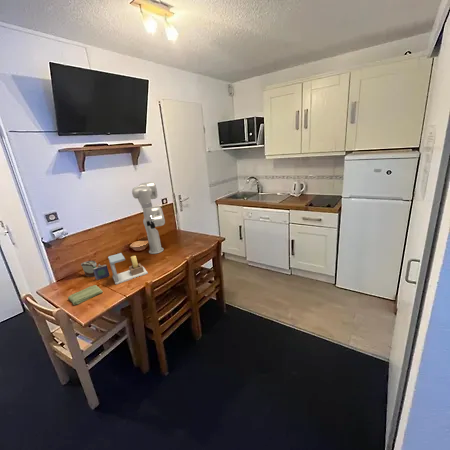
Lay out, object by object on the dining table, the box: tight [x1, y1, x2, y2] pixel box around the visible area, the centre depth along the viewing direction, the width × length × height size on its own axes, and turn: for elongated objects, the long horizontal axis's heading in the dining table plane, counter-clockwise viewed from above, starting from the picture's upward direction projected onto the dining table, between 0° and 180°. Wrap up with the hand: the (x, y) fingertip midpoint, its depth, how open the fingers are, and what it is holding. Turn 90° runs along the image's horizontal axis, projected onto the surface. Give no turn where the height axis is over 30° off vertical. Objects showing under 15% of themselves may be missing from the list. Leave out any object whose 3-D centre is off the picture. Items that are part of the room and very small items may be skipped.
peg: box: [130, 255, 139, 269], centre depth 181 cm, size 4×4×12 cm
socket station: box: [107, 252, 149, 285], centre depth 178 cm, size 14×22×16 cm, turn 122°
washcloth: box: [67, 284, 103, 306], centre depth 159 cm, size 13×18×3 cm
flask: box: [93, 263, 111, 281], centre depth 179 cm, size 9×3×11 cm, turn 121°
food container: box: [80, 260, 98, 278], centre depth 187 cm, size 12×6×10 cm, turn 71°
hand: (151, 227), depth 191 cm, fingers open, 9 cm apart
